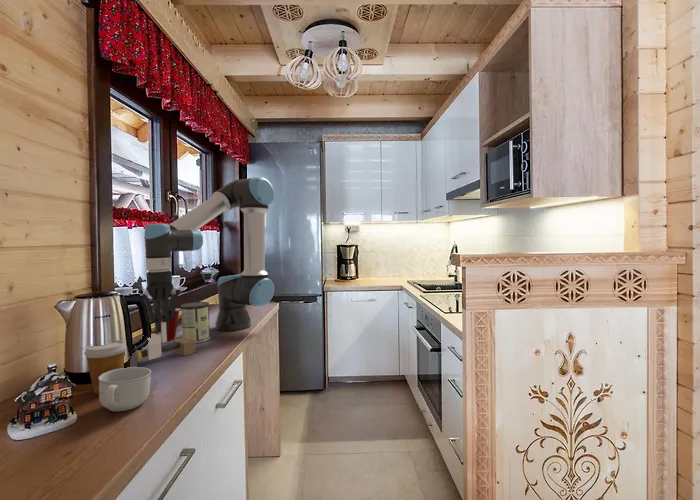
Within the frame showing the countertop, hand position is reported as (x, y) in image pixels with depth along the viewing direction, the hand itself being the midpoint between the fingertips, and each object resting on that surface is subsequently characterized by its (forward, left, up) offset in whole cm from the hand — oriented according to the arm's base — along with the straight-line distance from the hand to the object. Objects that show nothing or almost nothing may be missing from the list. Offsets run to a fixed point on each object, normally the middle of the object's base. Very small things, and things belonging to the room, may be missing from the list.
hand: (162, 341), depth 126 cm
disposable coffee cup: (+22, +13, -6) cm, 26 cm away
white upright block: (+4, 0, -4) cm, 6 cm away
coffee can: (-19, -12, -6) cm, 24 cm away
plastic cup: (-13, -23, -6) cm, 27 cm away
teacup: (+25, +29, -6) cm, 39 cm away
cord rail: (+2, 0, -6) cm, 6 cm away
